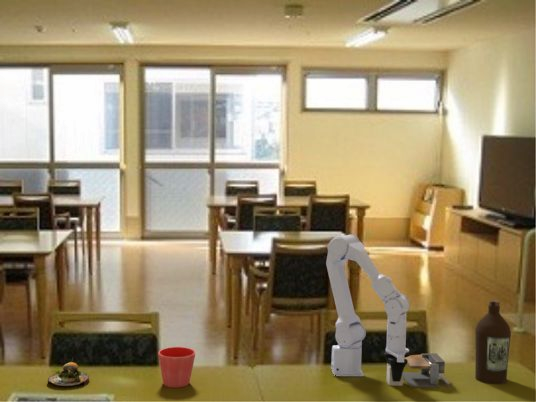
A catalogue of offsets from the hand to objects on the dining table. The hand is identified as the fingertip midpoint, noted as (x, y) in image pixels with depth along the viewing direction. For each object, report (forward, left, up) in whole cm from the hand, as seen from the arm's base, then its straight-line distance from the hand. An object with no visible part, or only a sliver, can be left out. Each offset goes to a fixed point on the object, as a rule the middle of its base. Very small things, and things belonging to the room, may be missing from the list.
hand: (394, 378), depth 214 cm
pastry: (+13, +19, -2) cm, 23 cm away
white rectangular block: (0, 0, +1) cm, 1 cm away
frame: (+13, +3, -1) cm, 14 cm away
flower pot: (-67, -2, -2) cm, 67 cm away
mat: (+8, +3, -1) cm, 9 cm away
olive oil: (+31, +5, -2) cm, 32 cm away
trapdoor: (+10, +3, +2) cm, 10 cm away
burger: (-99, -2, -2) cm, 99 cm away
